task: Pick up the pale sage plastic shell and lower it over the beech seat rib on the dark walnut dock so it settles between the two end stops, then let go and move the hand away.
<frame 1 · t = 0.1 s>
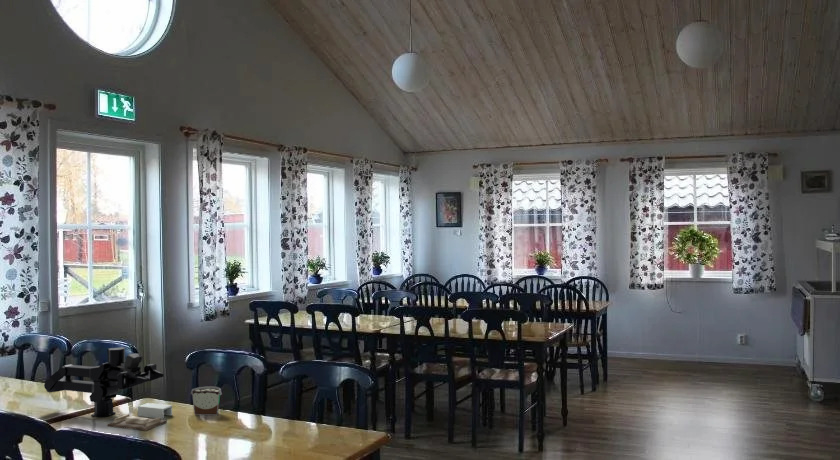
hand: (155, 377, 264), 17 cm above the table, tool horizontal, fingers open, 9 cm apart
food container: (209, 413, 275), on the table
shell: (155, 415, 271), on the table
dock: (137, 424, 259), on the table
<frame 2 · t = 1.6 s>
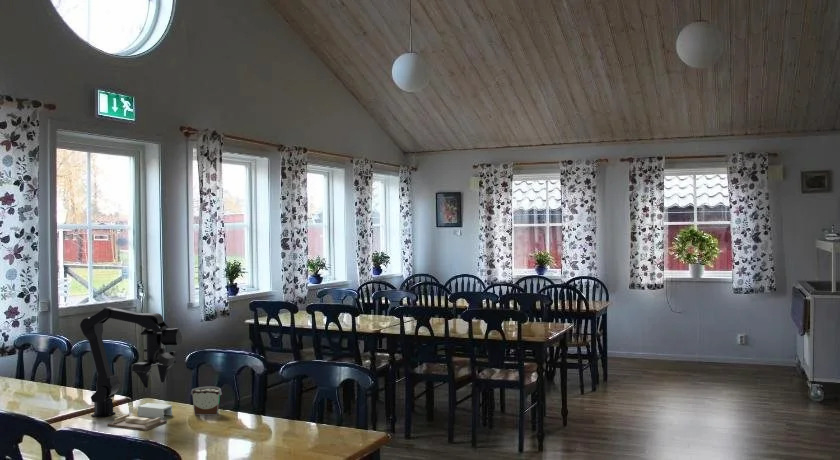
hand: (154, 385, 271), 12 cm above the table, tool pointing down, fingers open, 9 cm apart
nothing on the table moved.
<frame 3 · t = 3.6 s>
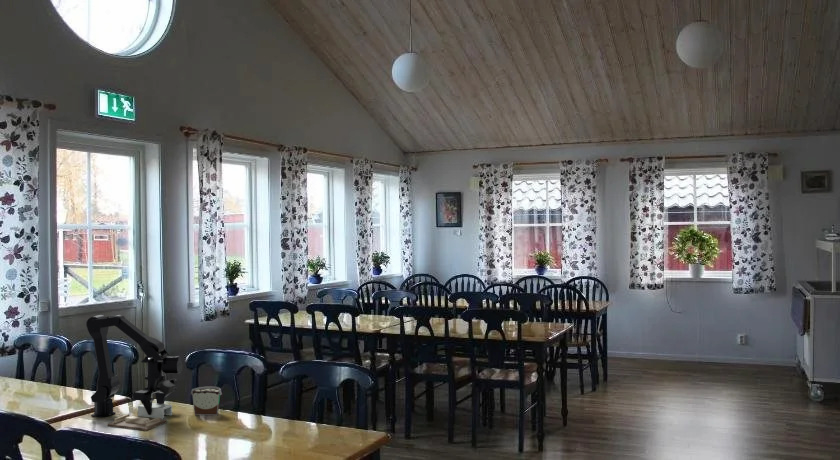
hand: (155, 412, 271), 1 cm above the table, tool pointing down, fingers closed on shell, 5 cm apart
shell: (155, 415, 271), on the table, touching gripper
everything else where it was.
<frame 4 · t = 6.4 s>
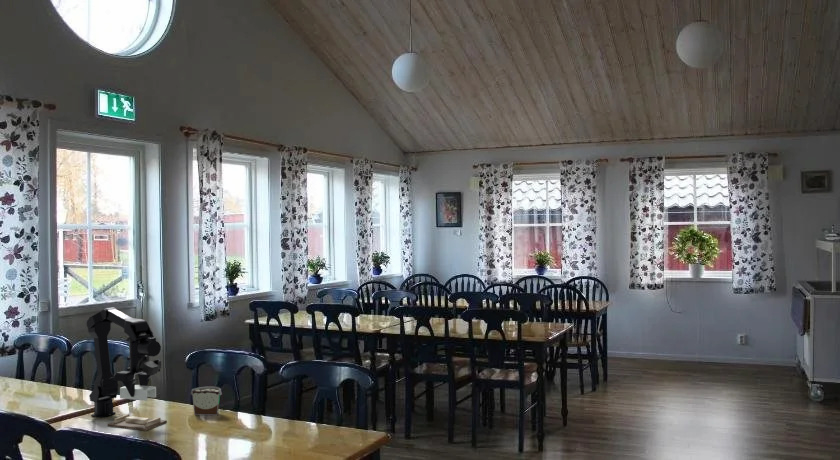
hand: (138, 394, 260), 11 cm above the table, tool pointing down, fingers closed on shell, 5 cm apart
shell: (138, 397, 260), point 10 cm above the table, touching gripper
everything else where it was.
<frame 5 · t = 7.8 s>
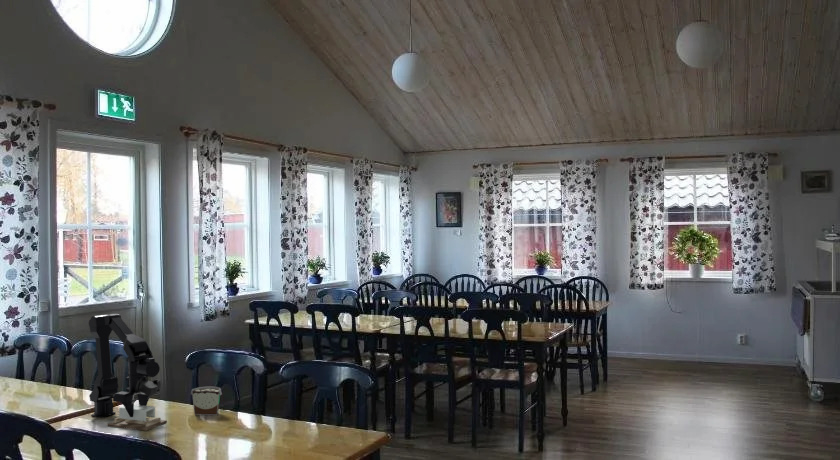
hand: (137, 415, 259), 4 cm above the table, tool pointing down, fingers closed on shell, 5 cm apart
shell: (137, 417, 259), point 2 cm above the table, touching gripper
everything else where it was.
when the fingers open (3 cm above the table, at t = 9.2 s): shell stays where it is, resting on dock.
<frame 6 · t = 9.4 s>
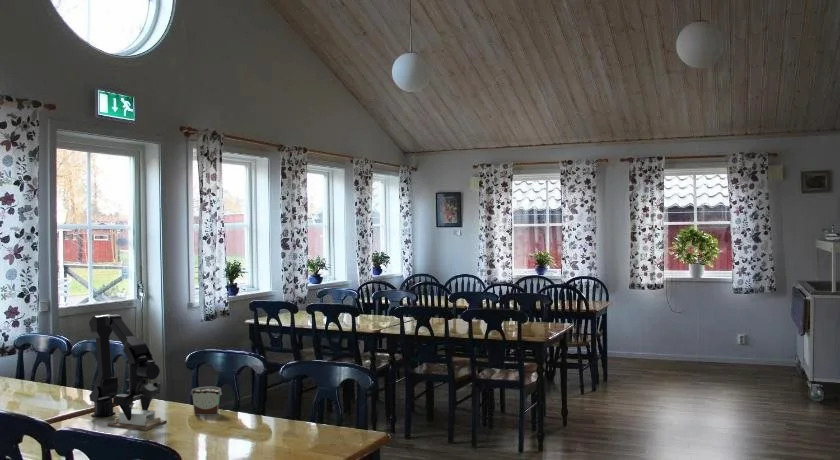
hand: (137, 417, 259), 3 cm above the table, tool pointing down, fingers open, 8 cm apart
shell: (137, 422, 259), point 1 cm above the table, touching dock
everything else where it was.
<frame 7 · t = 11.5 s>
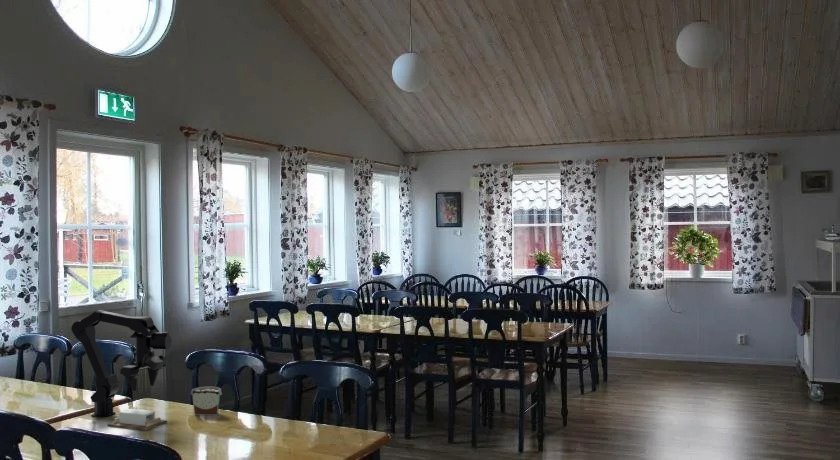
hand: (143, 388, 271), 11 cm above the table, tool pointing down, fingers open, 9 cm apart
nothing on the table moved.
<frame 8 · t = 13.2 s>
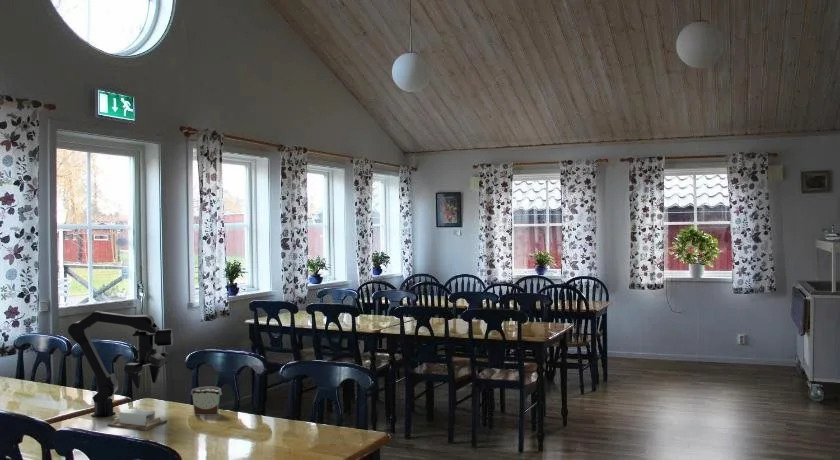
hand: (146, 385, 275), 11 cm above the table, tool pointing down, fingers open, 9 cm apart
nothing on the table moved.
at the end: shell 0.0 cm off-centre on the dock, point 0.8 cm above the dock's base; shell tilted 0°; the gripper is holding nothing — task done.
